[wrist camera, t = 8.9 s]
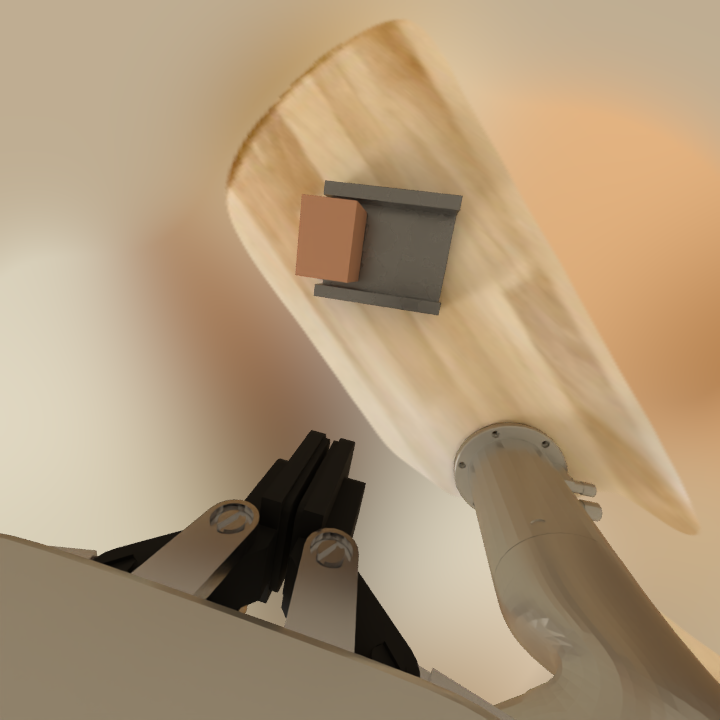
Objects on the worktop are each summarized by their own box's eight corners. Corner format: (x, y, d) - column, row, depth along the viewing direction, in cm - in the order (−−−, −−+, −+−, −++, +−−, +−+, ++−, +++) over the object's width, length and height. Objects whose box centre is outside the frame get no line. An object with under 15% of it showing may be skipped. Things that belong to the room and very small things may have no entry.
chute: (457, 204, 34) (462, 195, 30) (436, 311, 37) (438, 315, 33) (335, 190, 36) (325, 180, 32) (324, 293, 39) (313, 295, 35)
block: (367, 212, 34) (357, 200, 29) (358, 281, 36) (347, 282, 31) (320, 207, 35) (302, 194, 29) (314, 274, 37) (295, 275, 31)
